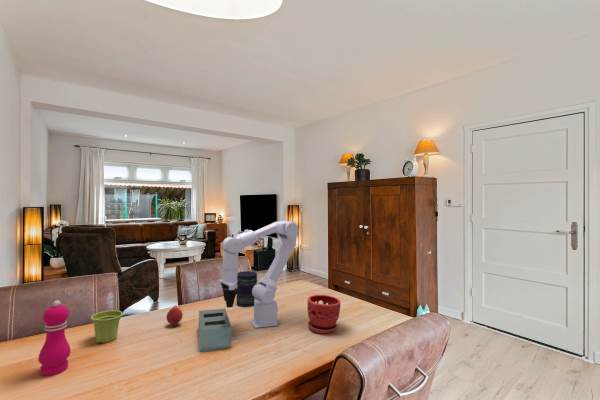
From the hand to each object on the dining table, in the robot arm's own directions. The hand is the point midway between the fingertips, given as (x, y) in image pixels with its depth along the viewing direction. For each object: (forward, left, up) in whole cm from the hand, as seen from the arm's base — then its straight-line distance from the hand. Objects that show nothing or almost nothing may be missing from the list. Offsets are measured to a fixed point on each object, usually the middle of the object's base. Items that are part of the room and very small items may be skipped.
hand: (228, 303), depth 117 cm
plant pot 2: (-36, +9, -11) cm, 39 cm away
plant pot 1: (+42, -5, -11) cm, 43 cm away
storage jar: (-12, -29, -11) cm, 33 cm away
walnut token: (+5, 0, -10) cm, 11 cm away
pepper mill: (+51, +13, -11) cm, 53 cm away
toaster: (+6, +4, -10) cm, 13 cm away
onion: (+20, -11, -11) cm, 25 cm away
